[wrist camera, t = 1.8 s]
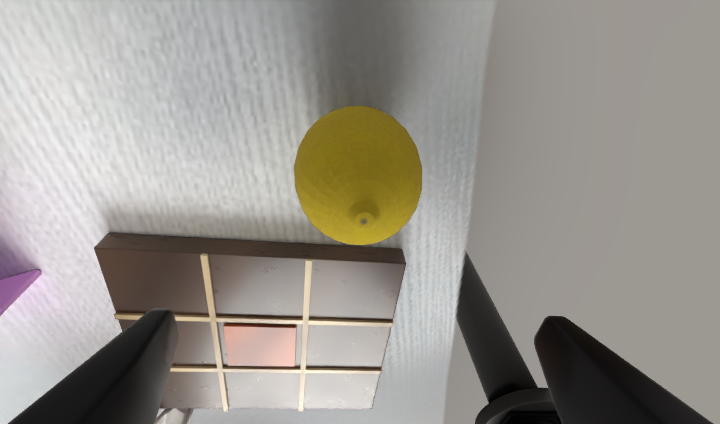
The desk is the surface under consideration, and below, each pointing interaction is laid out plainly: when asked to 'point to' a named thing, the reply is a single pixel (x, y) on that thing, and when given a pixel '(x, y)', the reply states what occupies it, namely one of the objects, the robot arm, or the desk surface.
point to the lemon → (358, 175)
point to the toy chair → (15, 287)
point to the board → (261, 317)
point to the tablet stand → (174, 416)
